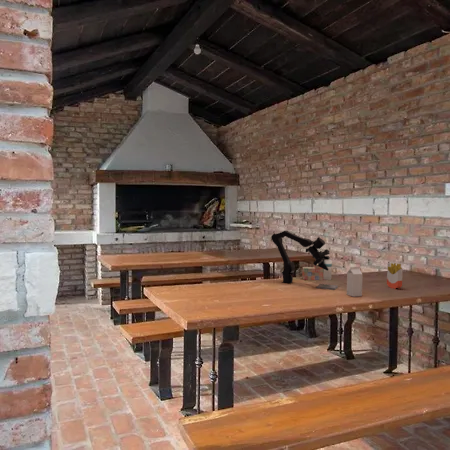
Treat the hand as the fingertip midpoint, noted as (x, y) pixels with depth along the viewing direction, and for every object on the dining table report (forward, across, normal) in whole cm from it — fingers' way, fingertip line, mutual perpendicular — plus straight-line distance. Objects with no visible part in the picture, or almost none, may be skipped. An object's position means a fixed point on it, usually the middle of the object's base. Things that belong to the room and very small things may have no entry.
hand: (329, 269), depth 304 cm
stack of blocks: (-4, +27, +24) cm, 36 cm away
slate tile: (+8, 0, +10) cm, 13 cm away
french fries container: (+37, +28, -18) cm, 50 cm away
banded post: (+4, 0, +6) cm, 7 cm away
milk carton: (+25, -13, -6) cm, 29 cm away
